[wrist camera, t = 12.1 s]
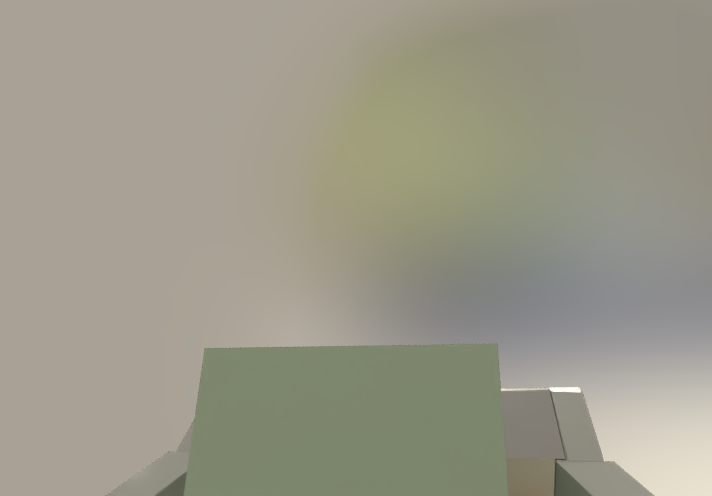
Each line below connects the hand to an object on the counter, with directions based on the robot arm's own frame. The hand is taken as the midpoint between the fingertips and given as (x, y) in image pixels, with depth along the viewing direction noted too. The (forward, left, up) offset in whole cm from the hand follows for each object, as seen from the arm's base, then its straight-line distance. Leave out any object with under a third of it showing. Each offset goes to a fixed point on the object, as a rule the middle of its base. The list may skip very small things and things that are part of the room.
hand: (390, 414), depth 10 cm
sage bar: (+4, +4, -6) cm, 8 cm away
